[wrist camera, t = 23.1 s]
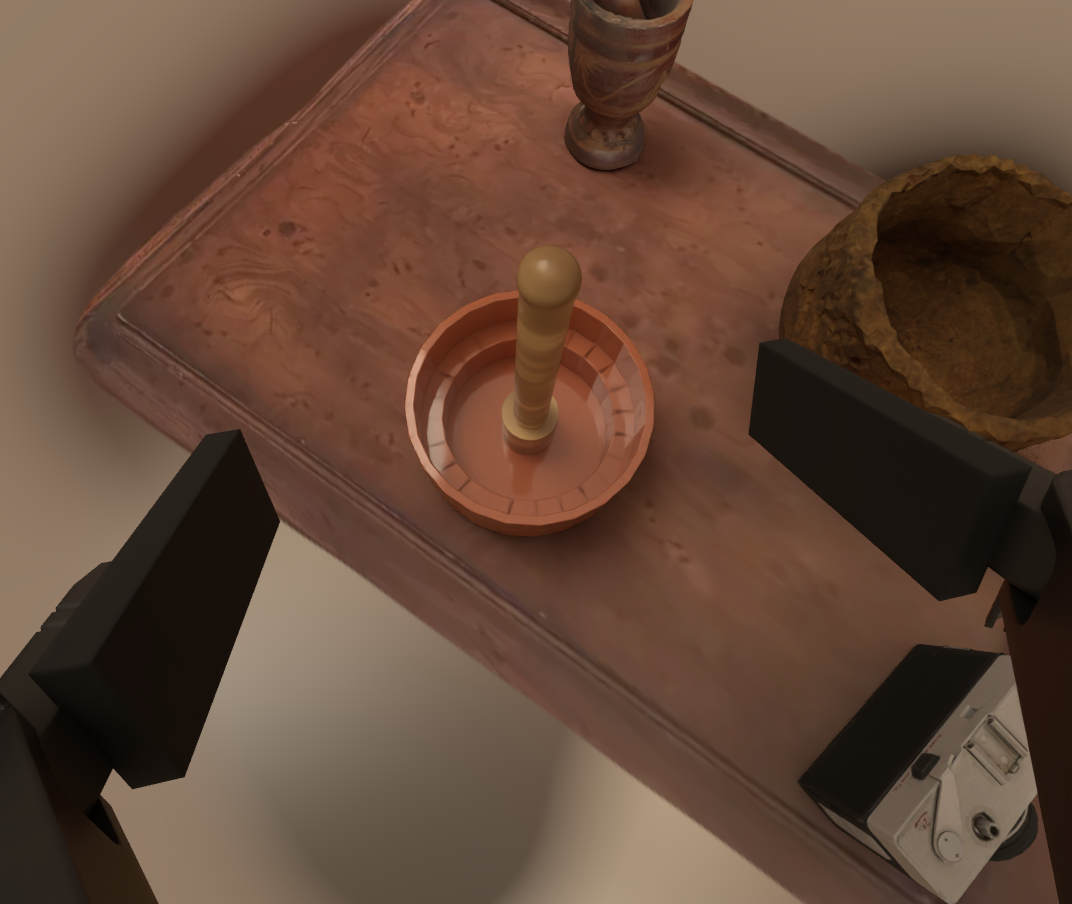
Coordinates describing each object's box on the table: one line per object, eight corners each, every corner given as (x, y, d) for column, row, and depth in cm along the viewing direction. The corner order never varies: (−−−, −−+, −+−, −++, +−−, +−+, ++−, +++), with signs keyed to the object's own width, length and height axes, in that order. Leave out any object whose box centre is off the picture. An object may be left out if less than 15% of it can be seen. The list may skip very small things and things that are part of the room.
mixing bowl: (516, 583, 38) (519, 581, 32) (378, 421, 41) (353, 386, 34) (672, 443, 42) (704, 413, 35) (536, 301, 45) (541, 248, 38)
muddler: (525, 465, 40) (547, 326, 19) (491, 427, 41) (477, 252, 20) (565, 432, 41) (626, 266, 20) (530, 395, 41) (555, 197, 21)
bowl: (706, 437, 42) (810, 355, 28) (771, 251, 47) (889, 99, 33) (933, 532, 41) (1163, 498, 27) (976, 332, 46) (1190, 213, 32)
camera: (869, 888, 34) (1005, 991, 25) (777, 756, 37) (870, 805, 27) (1011, 754, 37) (1183, 800, 28) (918, 638, 39) (1047, 644, 30)
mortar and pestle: (519, 168, 48) (528, -120, 29) (526, 93, 50) (540, -220, 31) (646, 181, 48) (739, -94, 29) (648, 106, 51) (735, -195, 31)
